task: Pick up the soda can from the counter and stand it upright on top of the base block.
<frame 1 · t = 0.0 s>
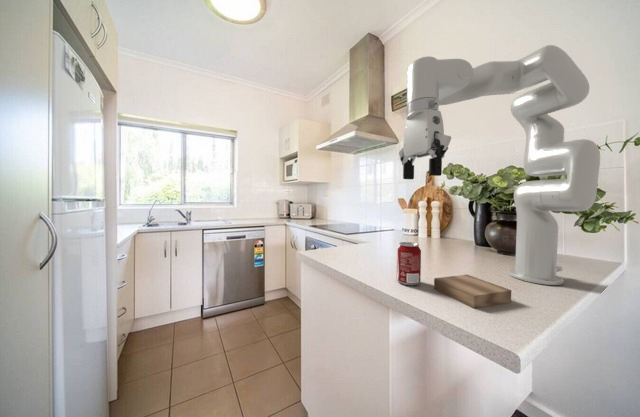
hand: (420, 177, 58), 31 cm above the table, tool pointing down, fingers open, 9 cm apart
base block: (469, 294, 59), on the table
soda can: (408, 283, 67), on the table
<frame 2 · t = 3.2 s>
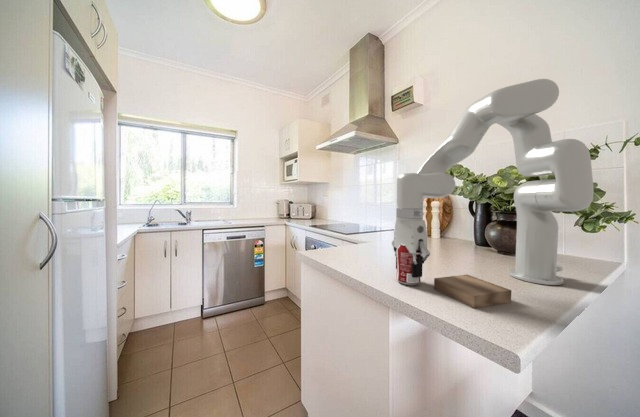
hand: (408, 272, 67), 3 cm above the table, tool pointing down, fingers closed on soda can, 6 cm apart
soda can: (408, 283, 67), on the table, touching gripper
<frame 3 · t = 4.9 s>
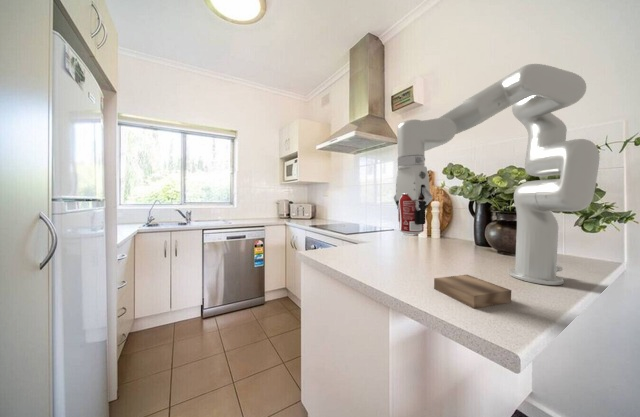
hand: (411, 222, 67), 18 cm above the table, tool pointing down, fingers closed on soda can, 6 cm apart
soda can: (411, 233, 67), point 15 cm above the table, touching gripper
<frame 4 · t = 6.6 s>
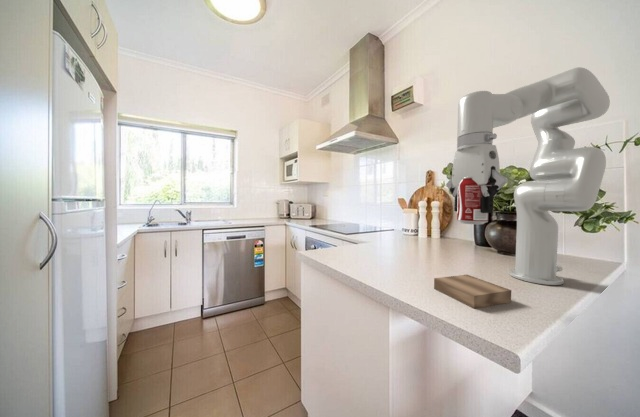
hand: (472, 211, 58), 22 cm above the table, tool pointing down, fingers closed on soda can, 6 cm apart
soda can: (471, 224, 58), point 19 cm above the table, touching gripper
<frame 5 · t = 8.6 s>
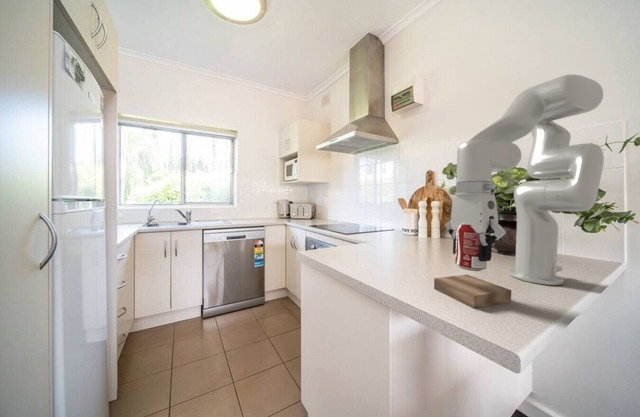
hand: (470, 256, 58), 10 cm above the table, tool pointing down, fingers closed on soda can, 6 cm apart
soda can: (470, 269, 58), point 7 cm above the table, touching gripper
when the fingers open (7 cm above the table, at t = 10.2 s): soda can drops 1 cm, resting on base block.
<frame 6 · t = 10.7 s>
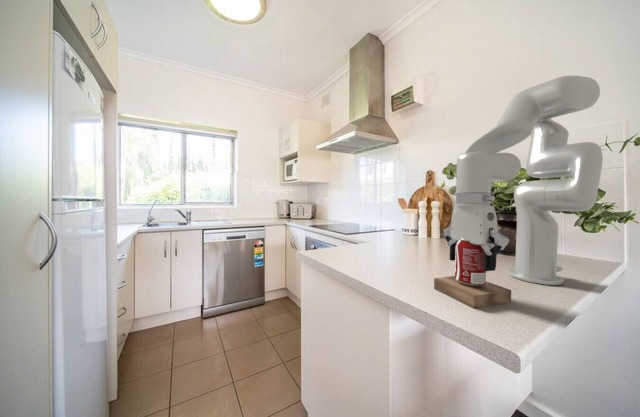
hand: (470, 264, 58), 8 cm above the table, tool pointing down, fingers open, 9 cm apart
soda can: (469, 284, 59), point 3 cm above the table, touching base block
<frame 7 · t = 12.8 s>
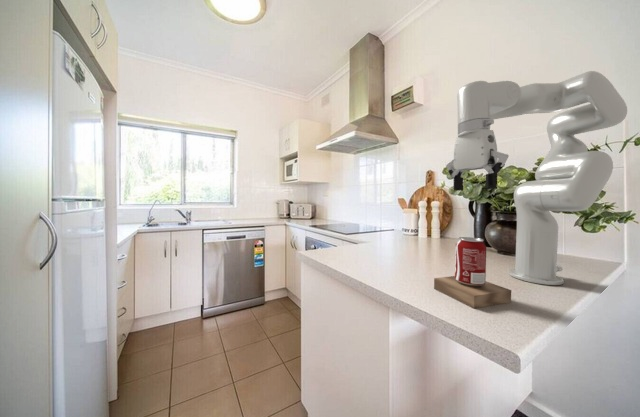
hand: (473, 189, 64), 28 cm above the table, tool pointing down, fingers open, 9 cm apart
nothing on the table moved.
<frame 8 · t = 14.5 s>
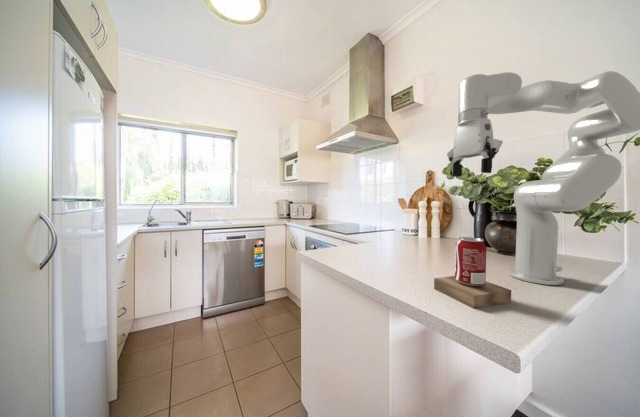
hand: (470, 174, 69), 33 cm above the table, tool pointing down, fingers open, 9 cm apart
nothing on the table moved.
at the end: soda can inside the target area on the base block (0.3 cm from its centre), point 2.8 cm above the base block's base; soda can tilted 0°; the gripper is holding nothing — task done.
